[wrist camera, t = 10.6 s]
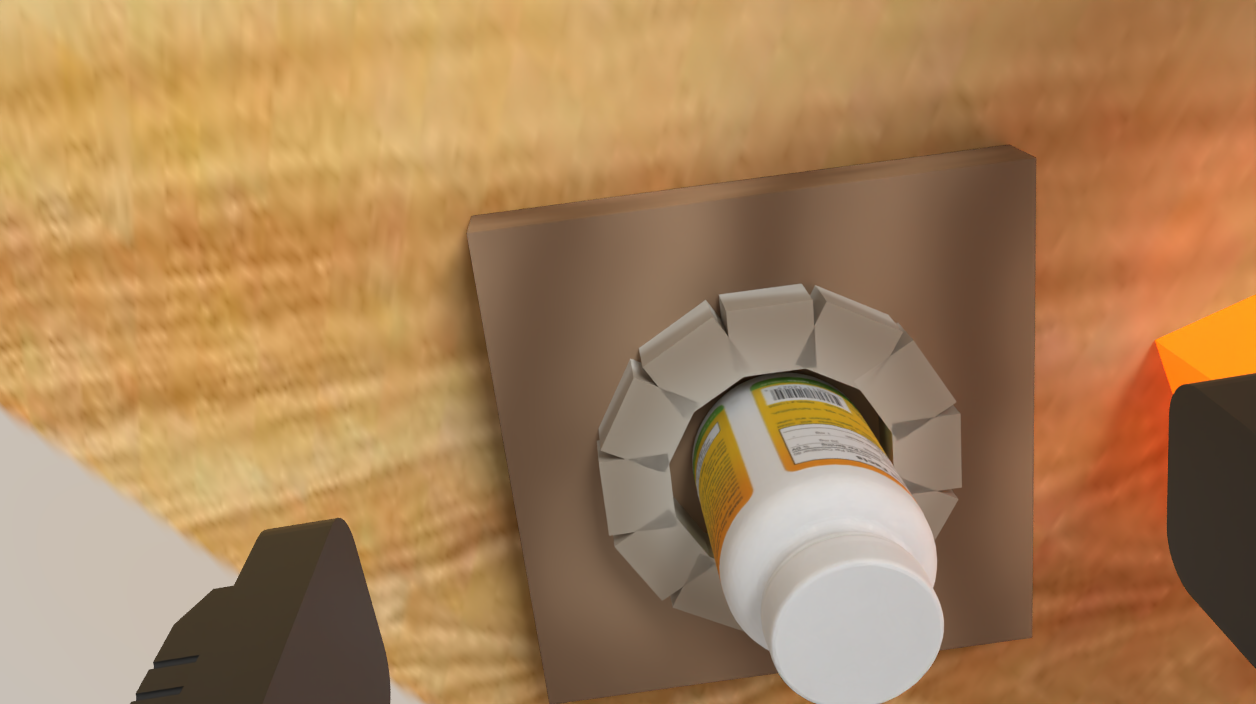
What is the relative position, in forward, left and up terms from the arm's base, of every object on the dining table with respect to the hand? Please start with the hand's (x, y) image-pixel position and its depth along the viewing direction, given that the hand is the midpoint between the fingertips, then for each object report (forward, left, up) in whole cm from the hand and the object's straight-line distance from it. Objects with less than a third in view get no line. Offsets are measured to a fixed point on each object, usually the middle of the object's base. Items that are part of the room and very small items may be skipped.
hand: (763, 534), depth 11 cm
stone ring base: (-3, +10, -23) cm, 26 cm away
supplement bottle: (-3, +10, -22) cm, 24 cm away
